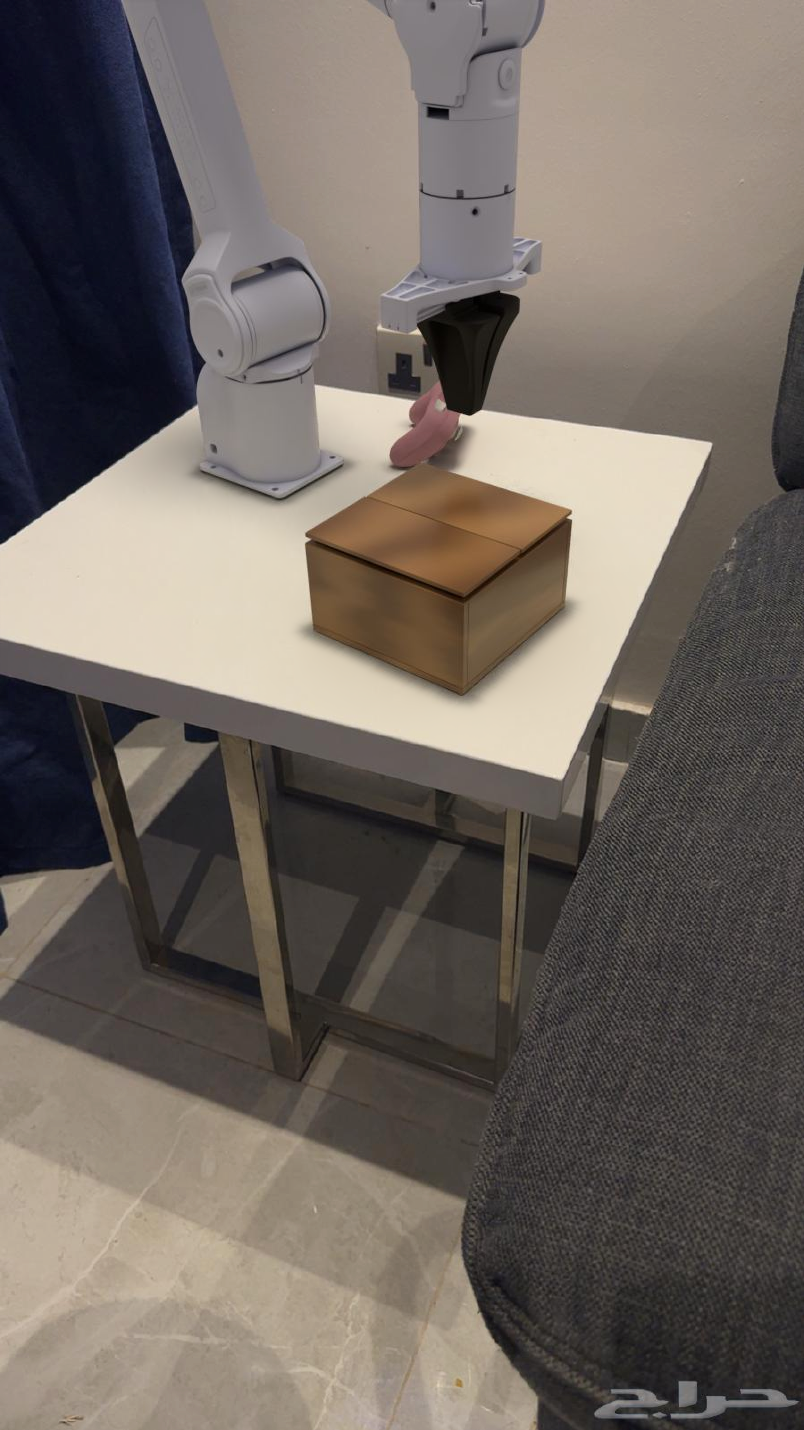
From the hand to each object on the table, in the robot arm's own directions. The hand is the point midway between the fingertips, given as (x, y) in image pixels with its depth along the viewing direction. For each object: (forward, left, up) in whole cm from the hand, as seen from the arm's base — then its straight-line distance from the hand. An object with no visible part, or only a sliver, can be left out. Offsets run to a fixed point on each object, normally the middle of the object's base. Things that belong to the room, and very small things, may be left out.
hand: (464, 409), depth 69 cm
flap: (+4, -6, -3) cm, 8 cm away
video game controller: (-12, +12, -10) cm, 20 cm away
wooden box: (+4, -9, -10) cm, 14 cm away
